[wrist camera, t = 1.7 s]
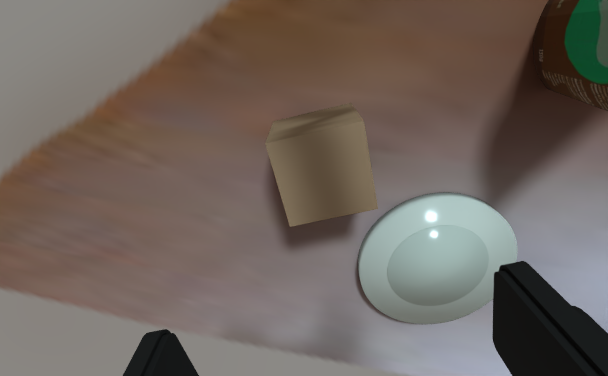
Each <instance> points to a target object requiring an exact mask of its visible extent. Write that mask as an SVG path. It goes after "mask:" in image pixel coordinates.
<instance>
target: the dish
mask: <svg viewBox="0 0 608 376" xmlns="http://www.w3.org/2000/svg"><path fill="white" fill-rule="evenodd" d="M516 259H517V242H516V238H515V235H514V232H513V230H512V228H511V227H510V225H509V223H508V222H507V221H506V220H505V219H504V218H503V217H502V216H501V215H500V214H499V213H498V212H497V211H496V210H495V209H494V208H492V207H491V206H490V205H488V204H487V203H485V202H483V201H482V200H480V199H478V198H475V197H472V196H469V195H465V194H461V193H451V192H442V193H432V194H426V195H422V196H418V197H415V198H412V199H410V200H407V201H405V202H403V203H401V204H399V205H397V206H395V207H394V208H392V209H391V210H389V211H388V212H386V213H385V214H384V215H383V216H382V217H381V218H379V219H378V220H377V222H376V223H375V224H374V225H373V226H372V227H371V229H370V230H369V231H368V233H367V234H366V236H365V238H364V240H363V242H362V245H361V247H360V251H359V255H358V272H359V277H360V281H361V285H362V288H363V291H364V293H365V295H366V296H367V298H368V299H369V301H370V302H371V303H372V304H373V305H374V306H375V307H376V308H377V309H378V310H380V311H381V312H382V313H384V314H386V315H387V316H389V317H391V318H394V319H396V320H399V321H403V322H407V323H413V324H437V323H443V322H448V321H452V320H455V319H459V318H461V317H464V316H466V315H469V314H471V313H473V312H475V311H476V310H478V309H480V308H481V307H483V306H484V305H486V304H487V303H488V302H490V301H491V300H492V299H493V292H494V273H495V272H498V271H499V267H500V266H501V265H505V264H510V263H515V262H516Z"/></svg>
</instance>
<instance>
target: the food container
mask: <svg viewBox="0 0 608 376" xmlns="http://www.w3.org/2000/svg"><path fill="white" fill-rule="evenodd" d="M533 55H534V63H535V67H536V70H537V73H538V75H539V77H540V79H541V81H542V82H543V83H544V85H545V86H546V87H547V88H548V89H550V90H552V91H555V92H558V93H560V94H563V95H566V96H569V97H571V98H574V99H577V100H579V101H582V102H585V103H587V104H590V105H593V106H596V107H598V108H601V109H604V110H606V111H608V0H549V1H548V2H547V4H546V6H545V8H544V10H543V12H542V14H541V16H540V19H539V22H538V25H537V28H536V32H535V37H534V46H533Z"/></svg>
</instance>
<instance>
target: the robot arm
mask: <svg viewBox="0 0 608 376" xmlns="http://www.w3.org/2000/svg"><path fill="white" fill-rule="evenodd" d="M493 342H494V345H495V348H496V350H497V352H498V354H499V355H500V357H501V358H502V360H503V361H504V363H505V365H506V366H507V368H508V369H509V371H510V372H511V374H512V376H608V333H607V332H606V331H605V330H604V329H602V328H601V327H600V326H599V325H598V324H597V323H596V322H595V321H594V320H593V319H592V318H591V317H590V316H589V315H588V314H587V313H585V312H584V311H583V310H582V309H580V308H578V307H576V306H571V305H570V304H569V303H568V302H567V301H566V300H565V299H564V298H563V297H562V296H561V295H560V294H559V293H558V292H557V291H556V290H555V289H554V288H552V287H551V286H550V285H549V284H548V283H547V282H546V281H545V280H544V279H543V278H542V277H541V276H540V275H539V274H538V273H537V272H536V271H535V270H534V269H533V268H532V267H531V266H530V265H529V264H528V263H526V262H524V261H520V262H515V263H510V264H505V265H501V266H500V267H499V271H498V272H495V273H494V292H493ZM123 376H199V375H198V374H197V372H196V370H195V368H194V366H193V365H192V363H191V361H190V360H189V358H188V356H187V354H186V352H185V351H184V349H183V347H182V345H181V344H180V342H179V340H178V338H177V337H176V335H175V334H174V333H170V331H169V330H167V329H165V330H159V331H154V332H149V333H146V334H145V335H144V336H143V338H142V340H141V342H140V344H139V346H138V348H137V350H136V351H135V353H134V355H133V357H132V359H131V361H130V363H129V365H128V367H127V369H126V371H125V373H124V374H123Z"/></svg>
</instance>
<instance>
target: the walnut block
mask: <svg viewBox="0 0 608 376" xmlns="http://www.w3.org/2000/svg"><path fill="white" fill-rule="evenodd" d="M265 145H266V148H267V151H268V155H269V158H270V161H271V165H272V168H273V171H274V175H275V178H276V182H277V185H278V188H279V192H280V195H281V198H282V202H283V205H284V208H285V212H286V215H287V218H288V222H289V225H290V227H292V226H296V225H301V224H306V223H311V222H316V221H321V220H326V219H331V218H335V217H340V216H345V215H350V214H355V213H360V212H365V211H370V210H374V209H378V206H377V200H376V194H375V187H374V181H373V175H372V169H371V163H370V156H369V150H368V144H367V138H366V131H365V125H364V120H363V119H362V118H361V116H360V115H359V114H358V112H357V111H356V110H355V108H354V107H353V106H352V104H351V103H349V104H344V105H340V106H336V107H332V108H328V109H323V110H319V111H315V112H311V113H307V114H302V115H298V116H294V117H290V118H286V119H282V120H277V121H274V122H273V124H272V127H271V130H270V132H269V135H268V138H267V140H266V143H265Z"/></svg>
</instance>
